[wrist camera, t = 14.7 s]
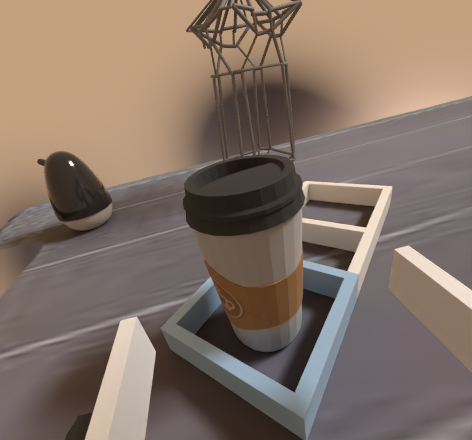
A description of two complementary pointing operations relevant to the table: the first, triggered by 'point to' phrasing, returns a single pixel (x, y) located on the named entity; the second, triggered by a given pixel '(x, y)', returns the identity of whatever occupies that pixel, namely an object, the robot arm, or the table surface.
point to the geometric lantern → (220, 3)
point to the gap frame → (314, 279)
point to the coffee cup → (252, 244)
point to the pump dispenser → (75, 192)
